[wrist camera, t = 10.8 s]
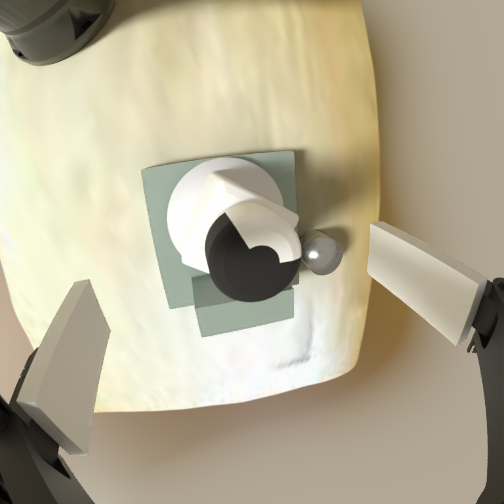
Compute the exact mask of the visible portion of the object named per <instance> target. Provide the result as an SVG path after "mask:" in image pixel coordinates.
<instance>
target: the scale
mask: <svg viewBox="0 0 504 504" xmlns="http://www.w3.org/2000/svg"><path fill="white" fill-rule="evenodd" d="M211 172H215V173H217V174H219V175H221V176H224V177H226V178H228V179H230V180H232V181H234V182H236V183H238V184H240V185H242V186H244V187H247V188H249V189H251V190H253V191H255V192H257V193H259V194H261V195H263V196H265V197H267V198H269V199H271V200H273V201H274V202H276V203H278V204H280V205H281V206H283V207H285V208H287V209H288V210H290V211H292V212H294V213H295V214H297V196H296V177H295V160H294V151H277V152H263V153H251V154H241V155H231V156H223V157H214V158H207V159H199V160H192V161H186V162H179V163H173V164H167V165H161V166H156V167H150V168H145V169H143V170H141V173H142V180H143V187H144V193H145V199H146V205H147V211H148V216H149V222H150V227H151V232H152V237H153V242H154V246H155V251H156V256H157V260H158V265H159V269H160V273H161V277H162V281H163V285H164V289H165V293H166V297H167V301H168V305H169V308H170V309H174V308H179V307H185V306H191V305H195V310H196V315H197V319H198V323H199V328H200V332H201V336H202V337H207V336H212V335H217V334H222V333H227V332H232V331H237V330H242V329H247V328H251V327H256V326H260V325H265V324H269V323H273V322H278V321H282V320H286V319H290V318H294V289H293V288H292V285H297V284H299V269H298V271H297V273H296V275H295V277H294V279H293V280H292V281H291V283H290V284H289V285H288V286H287V287H286V288H285V289H284V290H283V291H282V292H280V293H279V294H277V295H276V296H274V297H272V298H269V299H267V300H264V301H260V302H240V301H237V300H234V299H232V298H229V297H228V296H226V295H224V294H223V293H222V292H221V291H220V290H219V289H218V288H217V287H216V286H215V284H214V282H213V281H212V278H211V276H210V274H209V273H206V272H204V271H201V270H198V269H196V268H193V267H190V266H188V265H185V264H184V263H183V262H182V250H181V234H182V232H183V229H184V227H185V225H186V223H187V220H188V218H189V216H190V214H191V212H192V209H193V207H194V205H195V203H196V201H197V199H198V197H199V194H200V192H201V190H202V188H203V186H204V184H205V182H206V180H207V178H208V176H209V174H210V173H211ZM294 230H295V232H296V233H297V235H298V223H297V225H296V226H295V228H294Z"/></svg>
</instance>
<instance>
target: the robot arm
mask: <svg viewBox="0 0 504 504" xmlns="http://www.w3.org/2000/svg"><path fill="white" fill-rule="evenodd" d="M114 4H115V0H0V31H1V32H3V33H4V34H5V35H6V37H7V39H8V42H9V44H10V46H11V48H12V50H13V52H14V53H15V55H16V56H17V57H18V58H19V59H21V60H22V61H24V62H26V63H28V64H31V65H35V66H44V65H49V64H53V63H56V62H59V61H61V60H63V59H65V58H67V57H69V56H71V55H72V54H74V53H75V52H77V51H78V50H80V49H81V48H82V47H84V46H85V45H86V44H87V43H88V42H90V41H91V40H92V39H93V38H94V37H95V36H96V35H97V33H98V32H99V31H100V30H101V29H102V27H103V26H104V25H105V23H106V22H107V20H108V19H109V17H110V15H111V13H112V10H113V7H114ZM367 273H368V274H369V275H370V276H371V277H373V278H374V279H376V280H377V281H378V282H379V283H381V284H382V285H383V286H384V287H386V288H387V289H388V290H389V291H391V292H392V293H393V294H394V295H396V296H397V297H398V298H399V299H401V300H402V301H403V302H404V303H406V304H407V305H408V306H409V307H411V308H412V309H413V310H414V311H415V312H417V313H418V314H419V315H420V316H421V317H423V318H424V319H425V320H426V321H427V322H429V323H430V324H431V325H432V326H433V327H435V328H436V329H437V330H438V331H439V332H441V333H442V334H443V335H444V336H445V337H446V338H447V339H449V340H450V341H451V342H452V343H453V344H454V345H455V346H457V345H458V344H460V343H461V342H463V341H464V340H465V339H467V336H468V334H469V331H470V329H471V327H472V326H473V327H474V328H475V329H476V330H475V333H474V335H473V337H472V340H471V342H470V344H469V346H468V348H467V352H470V350H471V348H472V346H474V345H475V347H474V349H473V352H472V353H477V355H478V360H479V365H480V370H481V376H482V383H483V389H484V397H485V406H486V417H487V434H488V468H487V482H486V486H485V489H484V491H483V492H482V494H481V495H480V497H479V498H478V500H477V503H476V504H504V278H496V279H494V280H493V283H492V282H490V281H489V280H488V278H487V277H485V276H483V275H481V274H480V273H478V272H477V271H475V270H473V269H471V268H470V267H468V266H466V265H464V264H463V263H461V262H460V261H458V260H456V259H454V258H452V257H451V256H449V255H447V254H445V253H443V252H442V251H440V250H438V249H436V248H434V247H432V246H430V245H429V244H426V243H425V242H423V241H421V240H419V239H417V238H415V237H413V236H411V235H409V234H407V233H405V232H403V231H401V230H399V229H397V228H395V227H393V226H391V225H389V224H387V223H384V222H382V221H381V222H376V223H371V225H370V243H369V257H368V268H367ZM110 331H111V330H110V328H109V326H108V324H107V322H106V319H105V317H104V315H103V312H102V310H101V308H100V305H99V303H98V300H97V298H96V295H95V293H94V290H93V288H92V285H91V283H90V280H89V279H88V280H83V281H78V282H75V283H74V284H73V286H72V288H71V289H70V291H69V293H68V294H67V296H66V298H65V299H64V301H63V303H62V305H61V306H60V308H59V310H58V312H57V313H56V315H55V317H54V319H53V321H52V323H51V325H50V326H49V328H48V330H47V332H46V334H45V336H44V338H43V340H42V342H41V344H40V346H39V348H36V349H35V351H34V352H33V353H32V354H31V355H30V356H29V358H28V360H27V362H26V364H25V367H24V368H25V369H23V371H22V373H21V378H19V380H18V383H17V385H16V387H15V390H14V393H13V395H12V398H11V400H10V403H9V405H8V403H7V402H6V401H5V400H4V399H3V398H2V396H1V395H0V504H95V503H94V502H93V501H92V499H91V498H90V497H89V495H88V494H87V493H86V492H85V490H84V489H83V487H82V486H81V485H80V483H79V482H78V480H77V479H76V478H75V476H74V474H73V473H72V472H71V470H70V469H69V467H68V466H67V464H66V462H65V461H64V459H63V458H62V457H61V456H60V455H59V454H58V449H59V446H60V447H62V448H63V449H64V450H65V451H66V452H67V453H69V454H71V455H84V456H85V455H86V456H88V455H89V444H90V435H91V427H92V419H93V413H94V407H95V401H96V395H97V389H98V384H99V379H100V374H101V369H102V365H103V360H104V356H105V351H106V347H107V343H108V339H109V335H110Z"/></svg>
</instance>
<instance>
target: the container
mask: <svg viewBox="0 0 504 504" xmlns="http://www.w3.org/2000/svg"><path fill="white" fill-rule="evenodd" d="M298 221H299V216H298V215H297V214H295V213H294V212H292V211H290V210H288V209H287V208H285V207H283V206H281V205H280V204H278V203H276V202H274V201H273V200H271V199H269V198H267V197H265V196H263V195H261V194H259V193H257V192H255V191H253V190H251V189H249V188H247V187H244V186H242V185H240V184H238V183H236V182H234V181H232V180H230V179H228V178H226V177H224V176H221V175H219V174H217V173H215V172H211V173H210V174H209V176H208V178H207V180H206V182H205V184H204V186H203V188H202V190H201V192H200V194H199V197H198V199H197V201H196V203H195V205H194V207H193V209H192V212H191V214H190V216H189V218H188V220H187V223H186V225H185V227H184V229H183V232H182V234H181V250H182V262H183V263H184V264H185V265H188V266H190V267H193V268H196V269H198V270H201V271H204V272H206V273H209V274H210V276H211V278H212V281H213V282H214V284H215V286H216V287H217V288H218V289H219V290H220V291H221V292H222V293H223V294H224V295H226V296H228V297H229V298H232V299H234V300H237V301H240V302H260V301H264V300H267V299H269V298H272V297H274V296H276V295H277V294H279V293H280V292H282V291H283V290H284V289H285V288H286V287H287V286H288V285H289V284H290V283H291V281H292V280H293V279H294V277H295V275H296V273H297V271H298V269H299V266H300V262H301V244H300V241H299V238H298V235H297V233H296V232H295V230H294V228H295V226H296V225H297V223H298Z"/></svg>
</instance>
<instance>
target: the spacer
mask: <svg viewBox="0 0 504 504" xmlns="http://www.w3.org/2000/svg"><path fill="white" fill-rule="evenodd" d="M299 241H300V244H301V261H302V262H303V263H304V264H305V265H306V266H307V267H308V268H309V269H311V270H312V271H313V272H314V273H315V274H317V275H327V274H330V273H331V272H333V271H334V270H335V269H336V268H337V267H338V266H339V264H340V262H341V259H342V248H341V246H340V244H339V243H338V242H337V241H335V240H334V239H332V238H330V237H329V236H327V235H326V234H324V233H322V232H321V231H317V230H313V231H309V232H307V233H305V234H304V235H303V236H302V237H301V238H300V240H299Z"/></svg>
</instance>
